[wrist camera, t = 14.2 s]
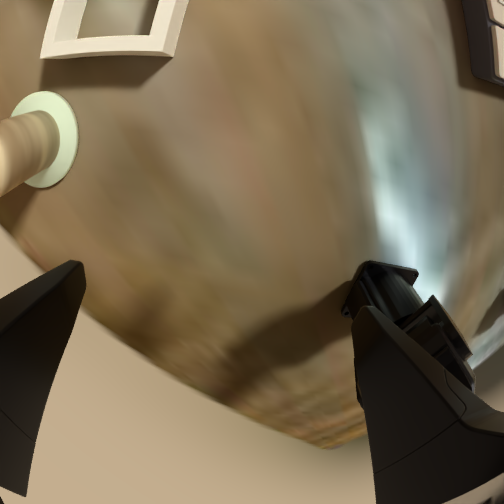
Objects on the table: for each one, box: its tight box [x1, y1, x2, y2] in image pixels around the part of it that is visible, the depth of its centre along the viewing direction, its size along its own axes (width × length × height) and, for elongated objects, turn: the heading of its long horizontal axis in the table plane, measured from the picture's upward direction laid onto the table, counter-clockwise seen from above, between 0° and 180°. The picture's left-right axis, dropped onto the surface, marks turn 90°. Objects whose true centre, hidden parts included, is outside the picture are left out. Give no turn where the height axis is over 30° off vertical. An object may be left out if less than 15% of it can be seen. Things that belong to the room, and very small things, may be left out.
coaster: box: [11, 91, 79, 188], centre depth 16 cm, size 8×8×1 cm
